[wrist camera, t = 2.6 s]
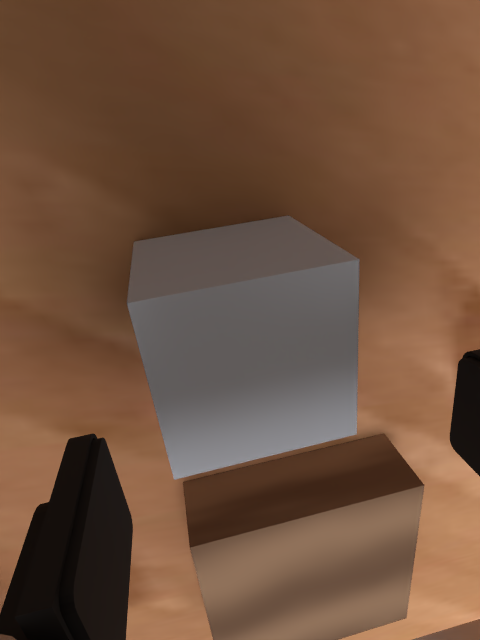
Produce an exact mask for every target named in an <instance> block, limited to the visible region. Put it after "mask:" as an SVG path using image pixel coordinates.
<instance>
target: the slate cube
mask: <svg viewBox="0 0 480 640" xmlns="http://www.w3.org/2000/svg"><path fill="white" fill-rule="evenodd" d="M127 306H128V309H129V313H130V317H131V321H132V324H133V328H134V332H135V335H136V339H137V343H138V347H139V350H140V354H141V358H142V361H143V365H144V369H145V373H146V376H147V380H148V384H149V387H150V391H151V395H152V399H153V402H154V406H155V410H156V413H157V417H158V421H159V425H160V428H161V432H162V436H163V440H164V443H165V447H166V451H167V454H168V458H169V462H170V466H171V469H172V473H173V477H174V480H175V479H179V478H183V477H187V476H191V475H195V474H199V473H203V472H207V471H211V470H215V469H219V468H223V467H227V466H231V465H235V464H239V463H243V462H247V461H251V460H255V459H259V458H263V457H267V456H271V455H275V454H279V453H283V452H287V451H291V450H295V449H299V448H304V447H308V446H312V445H316V444H320V443H324V442H328V441H332V440H336V439H340V438H344V437H348V436H352V435H356V434H357V379H358V317H359V259H358V258H356V257H355V256H353V255H352V254H350V253H348V252H347V251H345V250H344V249H342V248H340V247H339V246H337V245H336V244H334V243H332V242H331V241H329V240H327V239H326V238H324V237H323V236H321V235H319V234H318V233H316V232H315V231H313V230H311V229H310V228H308V227H307V226H305V225H303V224H302V223H300V222H299V221H297V220H295V219H294V218H292V217H290V216H289V215H288V216H282V217H276V218H271V219H265V220H259V221H253V222H247V223H241V224H235V225H229V226H223V227H217V228H211V229H205V230H200V231H194V232H188V233H182V234H176V235H170V236H164V237H158V238H152V239H146V240H140V241H134V244H133V253H132V262H131V271H130V279H129V288H128V297H127Z"/></svg>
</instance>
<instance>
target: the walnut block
mask: <svg viewBox="0 0 480 640" xmlns="http://www.w3.org/2000/svg"><path fill="white" fill-rule="evenodd" d="M183 486H184V496H185V505H186V515H187V524H188V534H189V543H190V550H191V554H192V558H193V562H194V566H195V570H196V574H197V578H198V581H199V585H200V589H201V593H202V597H203V601H204V605H205V609H206V613H207V617H208V621H209V625H210V629H211V633H212V637H213V640H338V639H342V638H345V637H348V636H351V635H354V634H357V633H361V632H364V631H367V630H370V629H373V628H377V627H380V626H383V625H386V624H389V623H392V622H396V621H399V620H402V619H405V618H406V617H407V610H408V602H409V595H410V587H411V580H412V573H413V565H414V558H415V551H416V543H417V536H418V528H419V521H420V514H421V506H422V499H423V492H424V484H423V483H422V482H421V480H420V479H419V478H418V476H417V475H416V474H415V473H414V471H413V470H412V469H411V468H410V466H409V465H408V464H407V462H406V461H405V460H404V459H403V457H402V456H401V455H400V453H399V452H398V451H397V450H396V448H395V447H394V446H393V444H392V443H391V442H390V441H389V439H388V438H387V437H386V435H385V434H380V435H376V436H371V437H367V438H363V439H359V440H355V441H351V442H347V443H343V444H338V445H334V446H330V447H326V448H322V449H318V450H314V451H309V452H305V453H301V454H297V455H293V456H289V457H285V458H281V459H276V460H272V461H268V462H264V463H260V464H256V465H252V466H247V467H243V468H239V469H235V470H231V471H227V472H223V473H218V474H214V475H210V476H206V477H202V478H198V479H194V480H190V481H185V482H183Z"/></svg>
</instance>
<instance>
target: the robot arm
mask: <svg viewBox="0 0 480 640" xmlns="http://www.w3.org/2000/svg"><path fill="white" fill-rule="evenodd" d="M450 442H451V445H452V447H453V449H454V450H455V451H456V452H457V453H458V454H459V455H460V456H461V457H462V459H463V460H464V461H465V462H466V463H467V464H468V465H469V466H470V467H471V468H472V469H473V470H474V471H475V472H476V473H477V474H478V475H479V476H480V349H479V350H474V351H470V352H467V353H465V354H464V356H463V358H462V359H461V360H460V361H459V363H458V371H457V379H456V388H455V396H454V405H453V413H452V422H451V430H450ZM132 534H133V525H132V518H131V514H130V511H129V508H128V505H127V502H126V499H125V496H124V493H123V490H122V487H121V484H120V481H119V478H118V475H117V473H116V470H115V467H114V464H113V461H112V458H111V455H110V452H109V449H108V446H107V443H106V441H105V439H104V438H99V439H97V437H96V435H95V434H89V435H84V436H80V437H75V438H70V439H69V440H68V442H67V445H66V448H65V452H64V455H63V458H62V461H61V465H60V468H59V471H58V475H57V478H56V481H55V485H54V488H53V491H52V495H51V498H50V501H49V502H48V503H43V504H40V505H39V506H38V507H37V508H36V510H35V512H34V515H33V518H32V521H31V524H30V527H29V530H28V533H27V536H26V539H25V542H24V545H23V548H22V551H21V554H20V556H19V559H18V562H17V565H16V568H15V571H14V574H13V577H12V580H11V583H10V586H9V589H8V592H7V595H6V598H5V601H4V604H3V607H2V610H1V613H0V640H126V627H127V611H128V596H129V580H130V565H131V549H132ZM413 640H480V619H479V620H475V621H472V622H469V623H465V624H462V625H459V626H455V627H452V628H449V629H446V630H442V631H439V632H436V633H432V634H429V635H426V636H423V637H419V638H416V639H413Z"/></svg>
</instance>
